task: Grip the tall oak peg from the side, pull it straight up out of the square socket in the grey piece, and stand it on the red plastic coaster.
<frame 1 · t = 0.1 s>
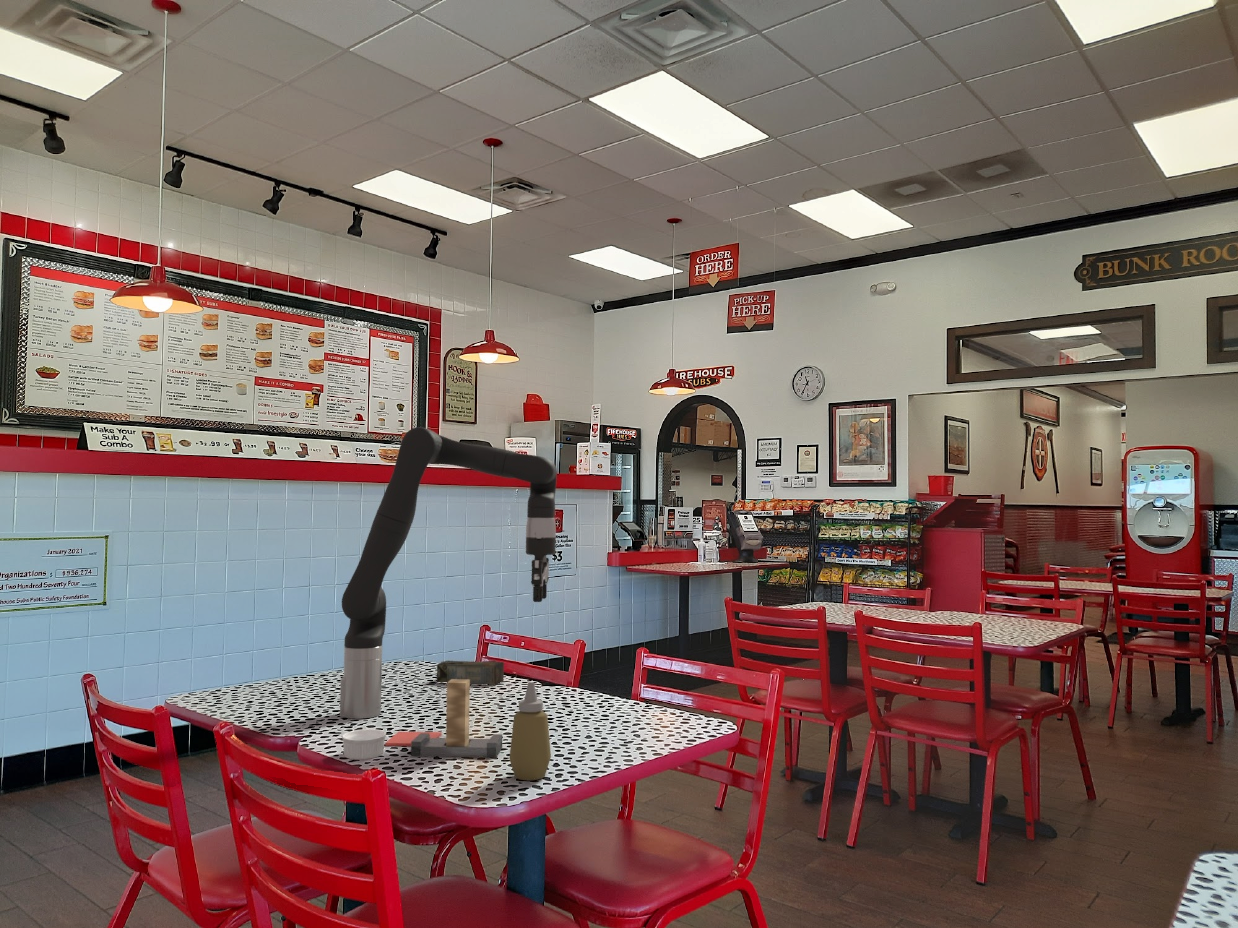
hand: (539, 600, 214), 29 cm above the table, tool pointing down, fingers open, 8 cm apart
squeeze bottle: (530, 777, 164), on the table
oak peg: (457, 752, 181), resting in grey piece
ramekin: (363, 755, 179), on the table
red coaster: (414, 740, 191), on the table
grey piece: (457, 751, 181), on the table
beverage carton: (470, 683, 257), on the table
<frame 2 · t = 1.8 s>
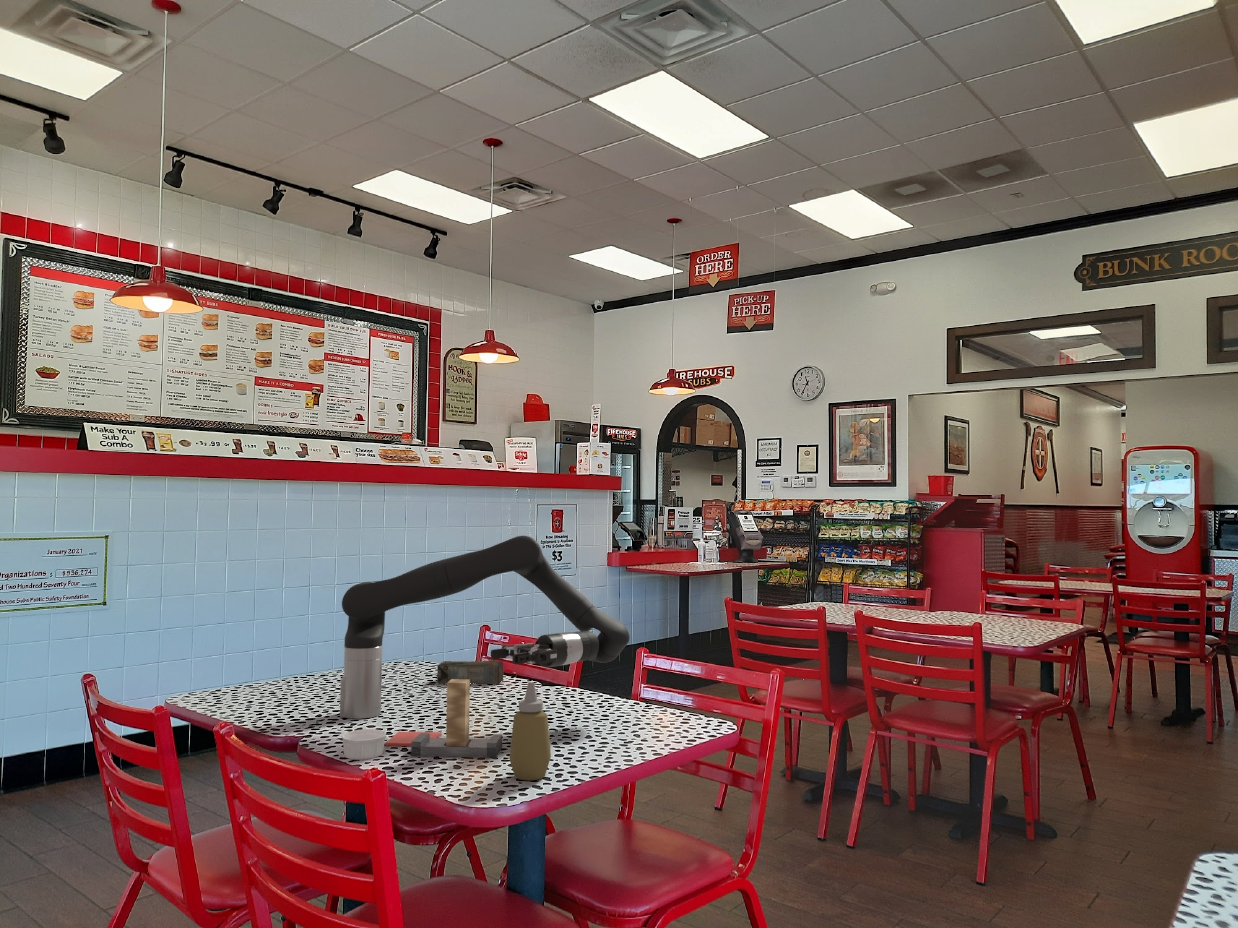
hand: (502, 657, 190), 19 cm above the table, tool horizontal, fingers open, 8 cm apart
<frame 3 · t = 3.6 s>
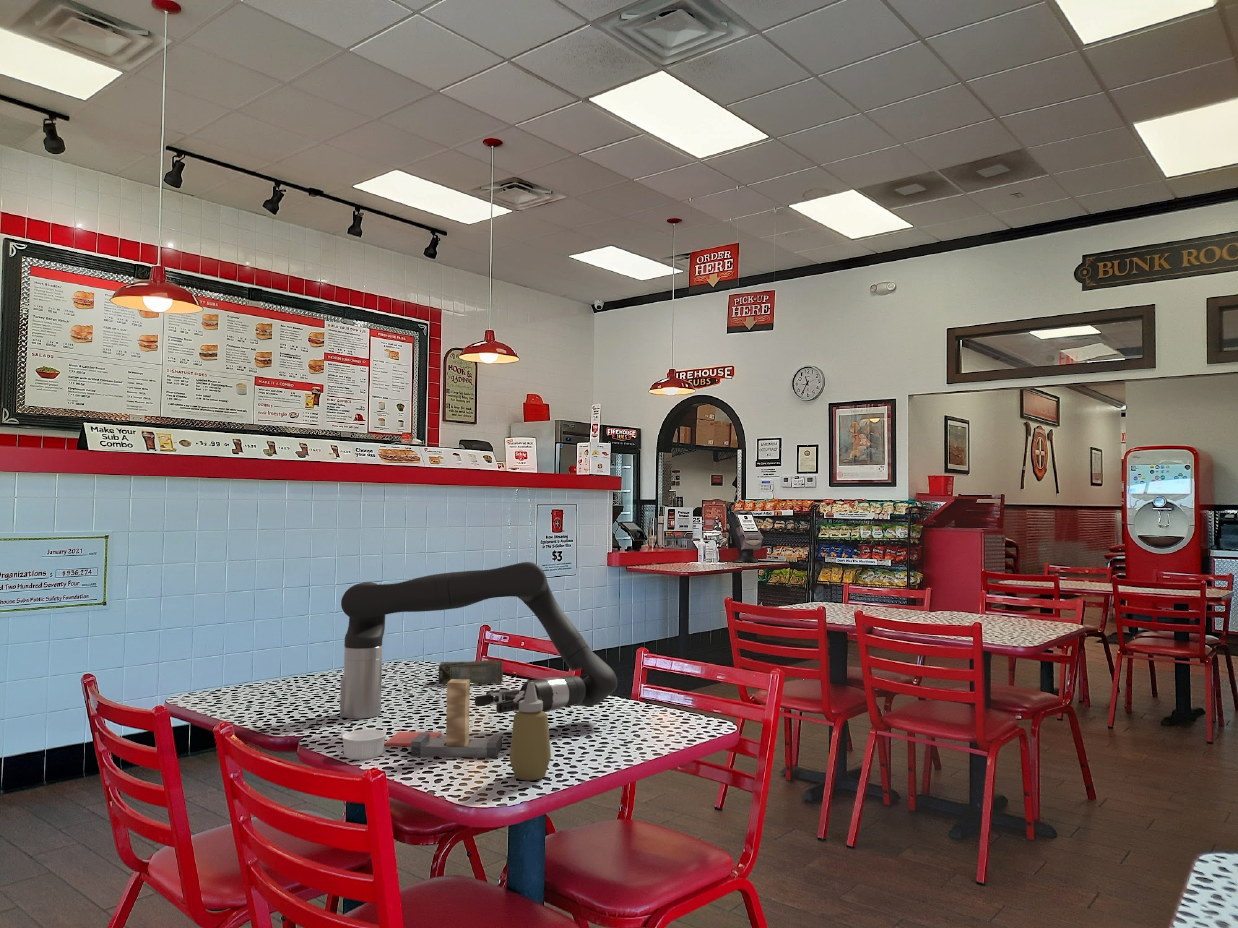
hand: (486, 704, 187), 9 cm above the table, tool horizontal, fingers open, 8 cm apart
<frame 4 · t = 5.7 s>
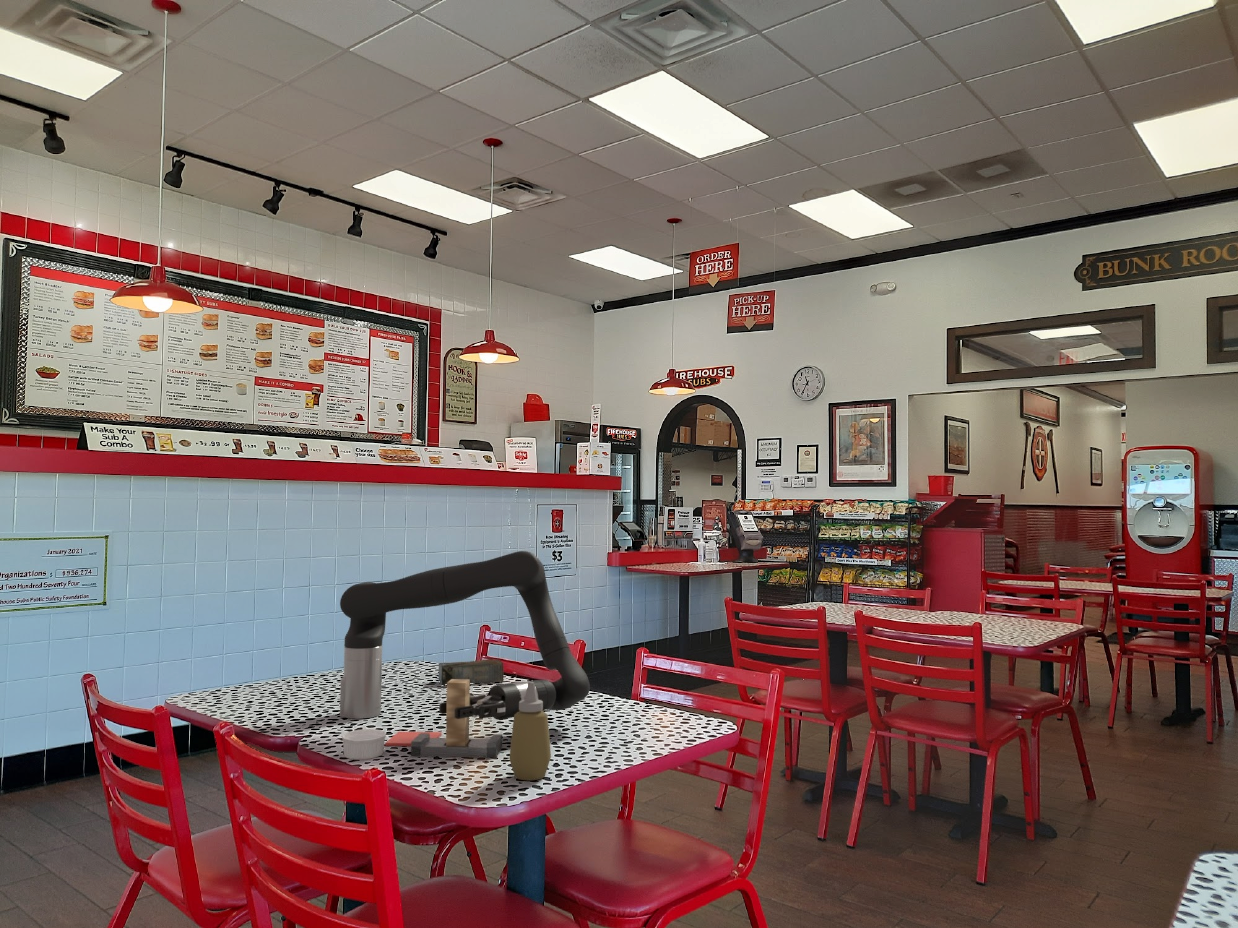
hand: (448, 710, 180), 9 cm above the table, tool horizontal, fingers closed on oak peg, 5 cm apart
oak peg: (457, 752, 181), resting in grey piece, touching gripper
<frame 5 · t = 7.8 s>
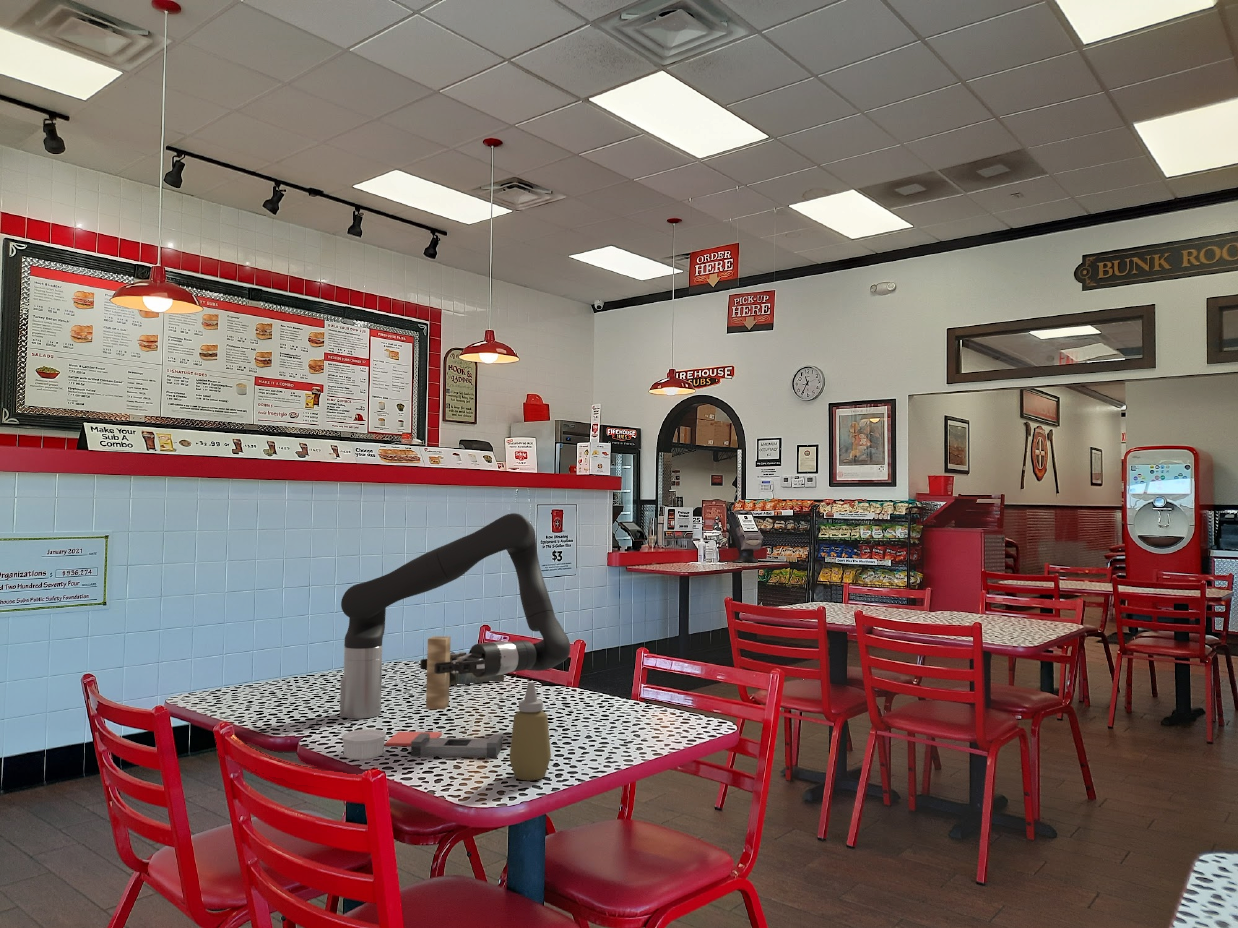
hand: (428, 666, 184), 18 cm above the table, tool horizontal, fingers closed on oak peg, 5 cm apart
oak peg: (437, 707, 185), point 9 cm above the table, touching gripper
when the fingers open (11 cm above the table, at t = 10.1 s): oak peg drops 1 cm, resting on red coaster.
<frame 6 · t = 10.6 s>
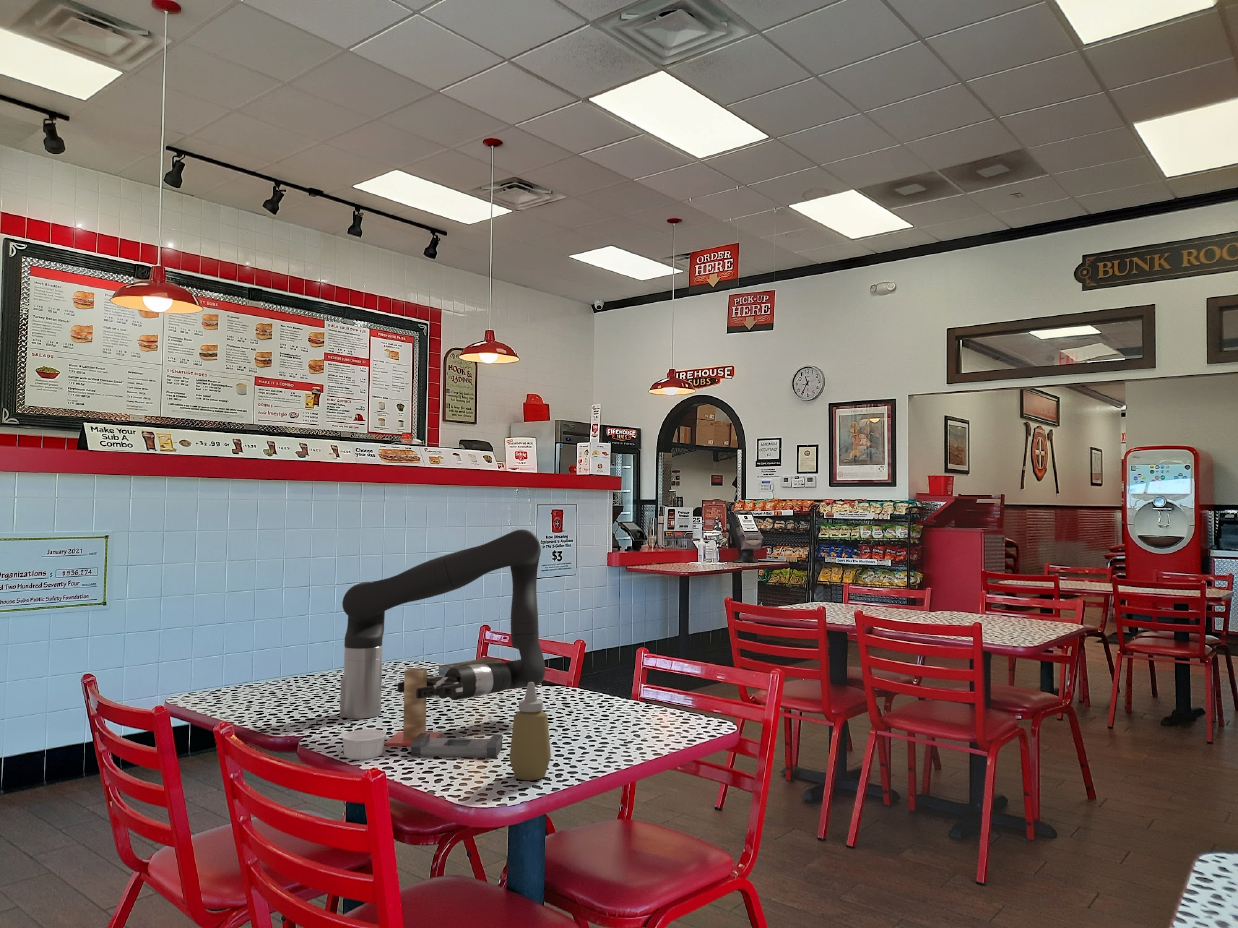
hand: (407, 690, 190), 11 cm above the table, tool horizontal, fingers open, 8 cm apart
oak peg: (414, 737, 191), point 1 cm above the table, touching red coaster
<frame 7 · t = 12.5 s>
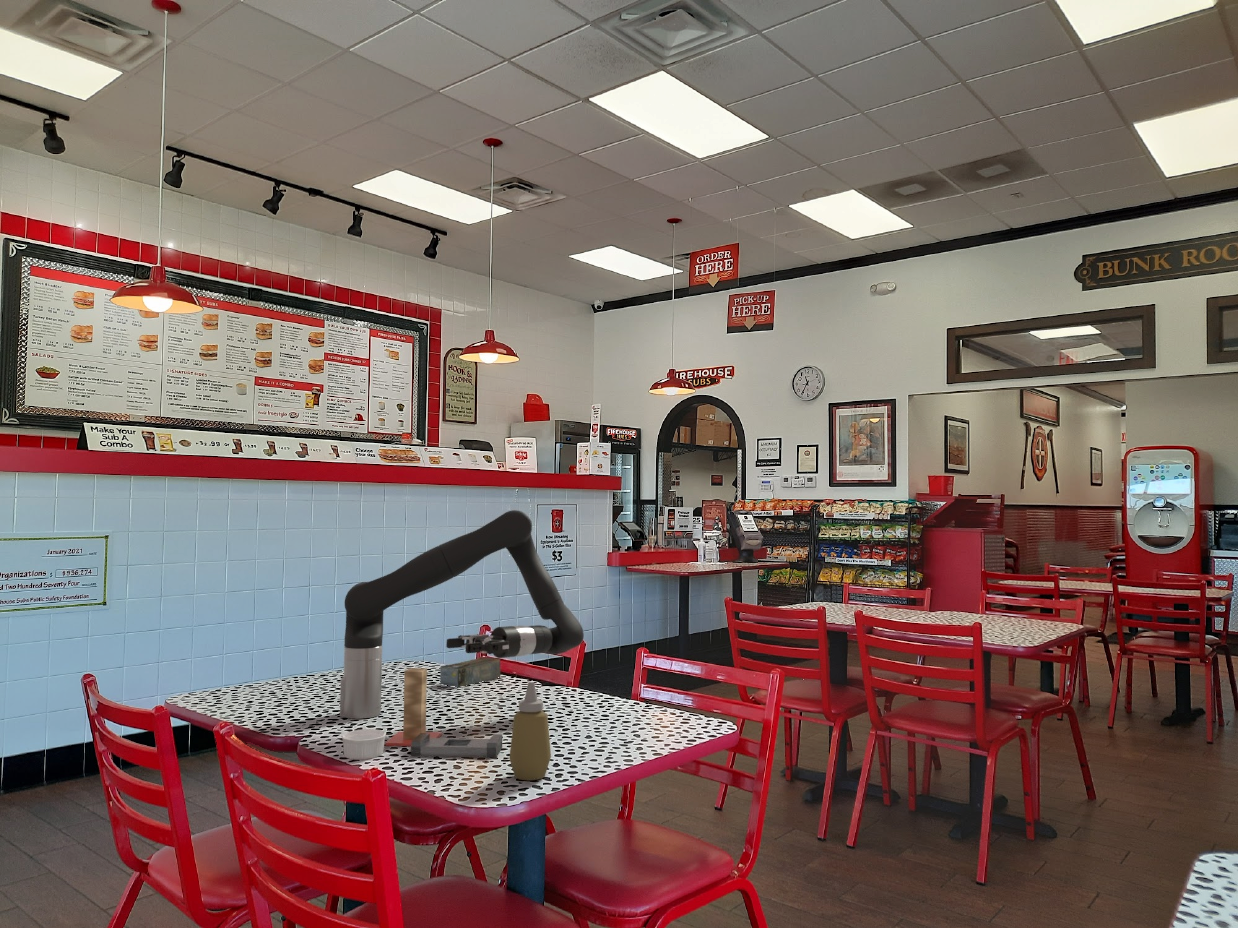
hand: (456, 645, 200), 20 cm above the table, tool horizontal, fingers open, 8 cm apart
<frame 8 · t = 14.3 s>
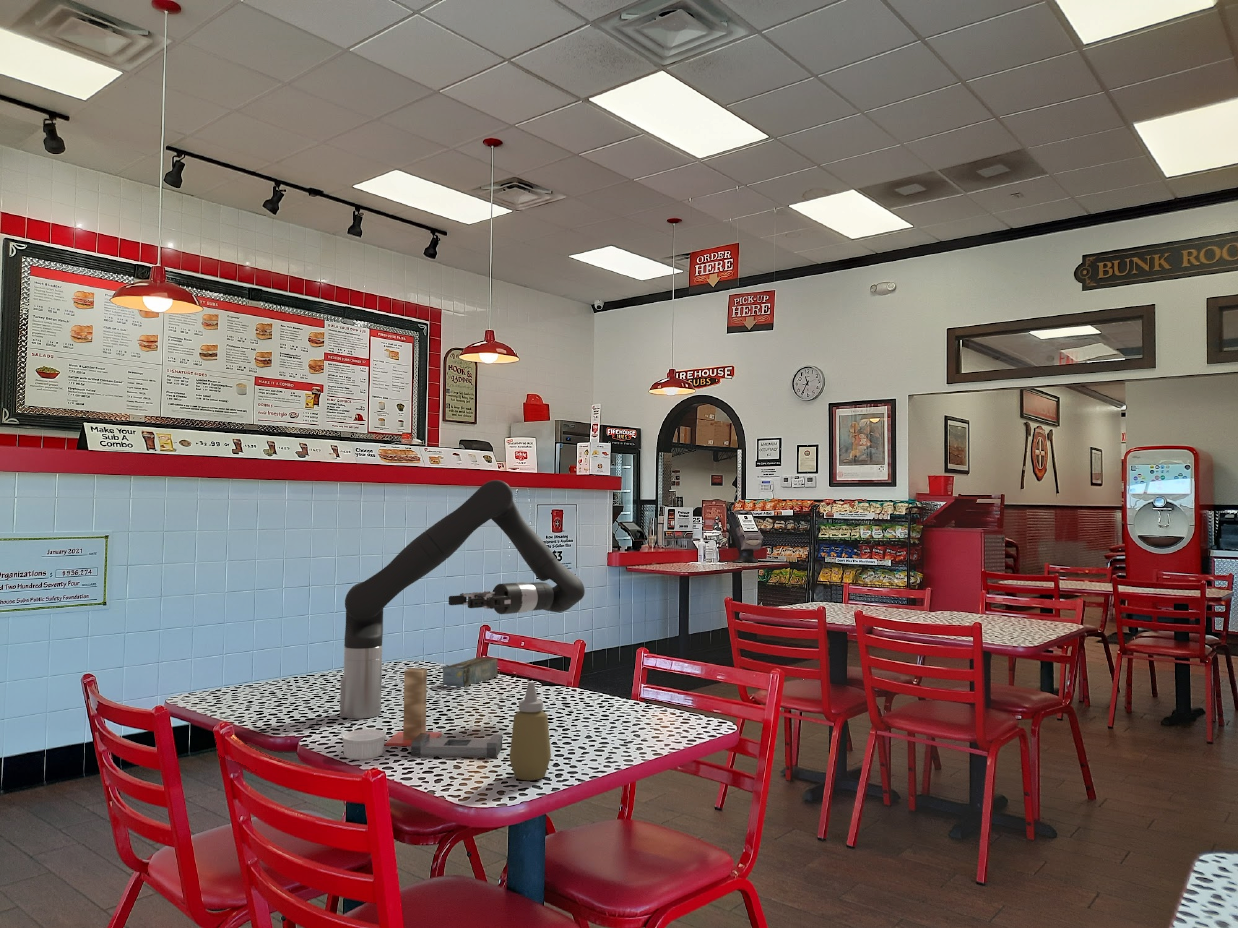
hand: (458, 602, 201), 30 cm above the table, tool horizontal, fingers open, 8 cm apart
at the end: oak peg inside the target area on the red coaster (0.1 cm from its centre), point 0.6 cm above the red coaster's base; oak peg tilted 0°; the gripper is holding nothing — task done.
